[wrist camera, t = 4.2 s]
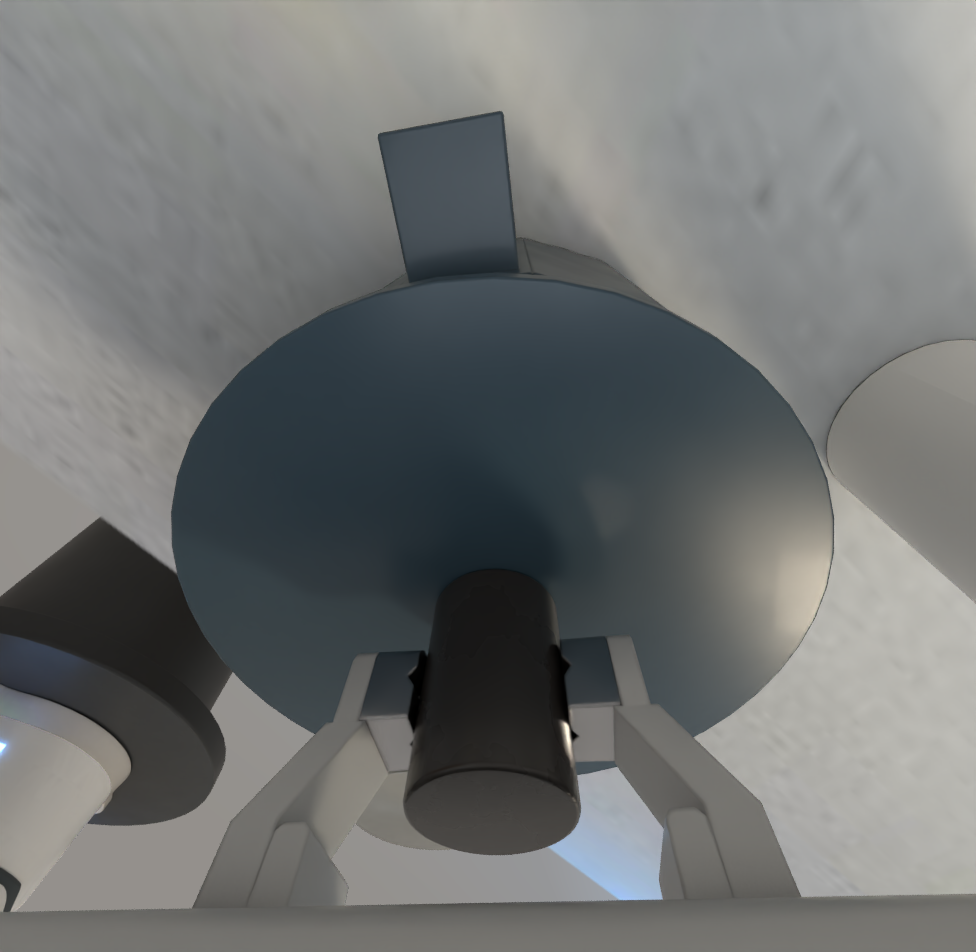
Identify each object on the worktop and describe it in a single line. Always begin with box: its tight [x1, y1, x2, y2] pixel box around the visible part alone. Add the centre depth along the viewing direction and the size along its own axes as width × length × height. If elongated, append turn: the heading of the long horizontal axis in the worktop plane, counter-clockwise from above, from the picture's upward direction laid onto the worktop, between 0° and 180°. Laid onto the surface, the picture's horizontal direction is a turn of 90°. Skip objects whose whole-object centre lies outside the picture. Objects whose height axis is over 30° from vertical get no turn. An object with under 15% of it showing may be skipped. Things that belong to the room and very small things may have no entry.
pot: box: [378, 111, 666, 309], centre depth 17 cm, size 15×20×8 cm
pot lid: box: [171, 272, 834, 855], centre depth 10 cm, size 16×16×6 cm
